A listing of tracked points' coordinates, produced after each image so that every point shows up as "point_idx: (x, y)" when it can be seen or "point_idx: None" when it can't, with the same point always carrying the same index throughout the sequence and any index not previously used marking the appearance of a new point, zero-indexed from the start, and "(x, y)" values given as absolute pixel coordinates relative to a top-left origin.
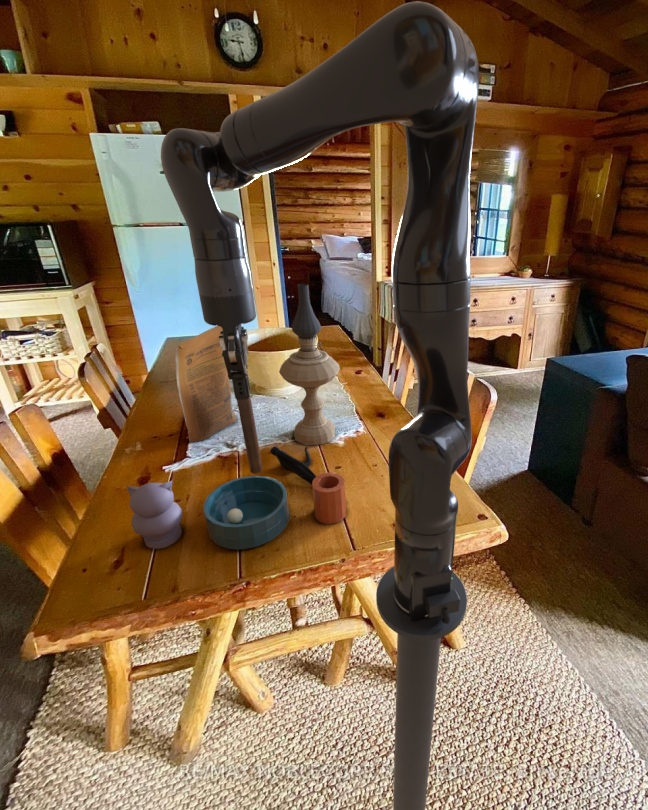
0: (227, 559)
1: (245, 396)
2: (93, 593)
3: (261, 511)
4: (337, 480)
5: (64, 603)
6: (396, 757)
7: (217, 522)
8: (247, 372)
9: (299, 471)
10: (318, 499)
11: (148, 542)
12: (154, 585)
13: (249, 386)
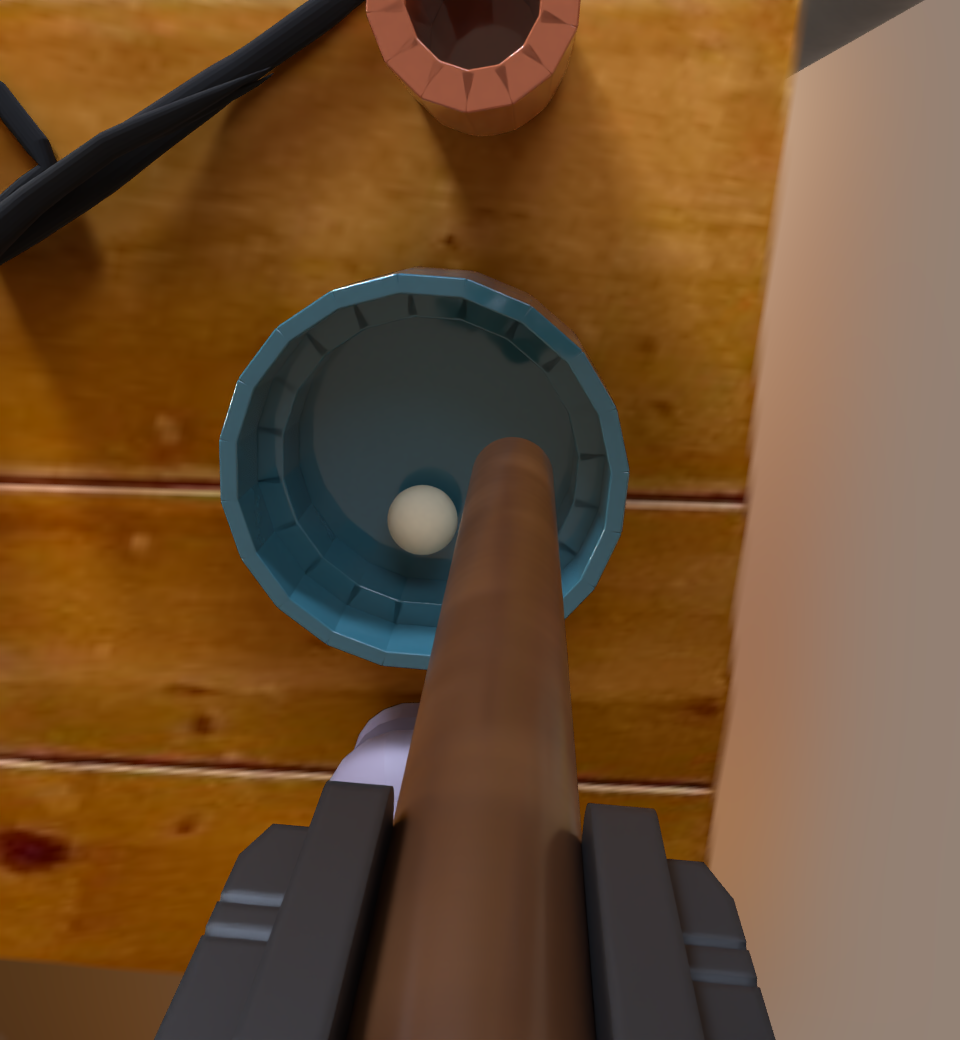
0: (627, 543)
1: (711, 885)
2: None
3: (383, 396)
4: None
5: None
6: (804, 64)
7: None
8: (261, 1027)
9: (142, 165)
10: (537, 95)
11: None
12: (661, 765)
13: (363, 819)
